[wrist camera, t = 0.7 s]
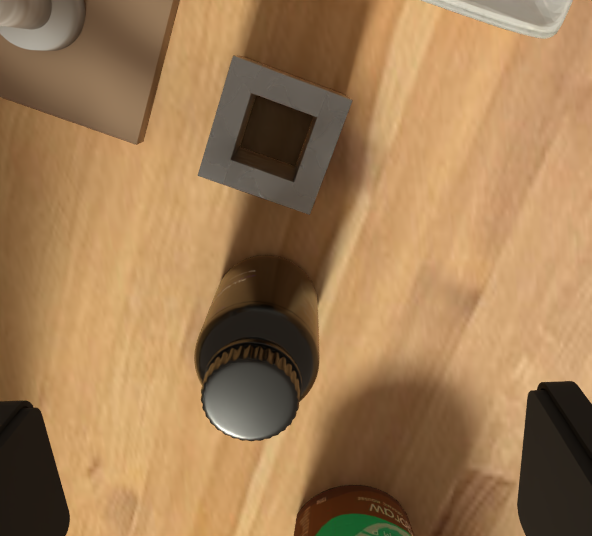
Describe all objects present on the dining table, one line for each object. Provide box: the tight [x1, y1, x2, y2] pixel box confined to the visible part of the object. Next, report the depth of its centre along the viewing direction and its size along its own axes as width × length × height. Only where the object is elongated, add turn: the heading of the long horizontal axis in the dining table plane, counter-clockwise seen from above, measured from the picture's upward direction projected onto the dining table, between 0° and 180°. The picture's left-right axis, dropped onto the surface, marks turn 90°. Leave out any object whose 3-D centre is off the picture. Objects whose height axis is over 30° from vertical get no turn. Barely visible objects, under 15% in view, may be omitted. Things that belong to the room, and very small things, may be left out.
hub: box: [198, 56, 352, 215], centre depth 32 cm, size 6×6×5 cm
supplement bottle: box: [194, 255, 319, 441], centre depth 33 cm, size 7×7×12 cm
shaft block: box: [0, 0, 179, 145], centre depth 28 cm, size 11×13×8 cm
